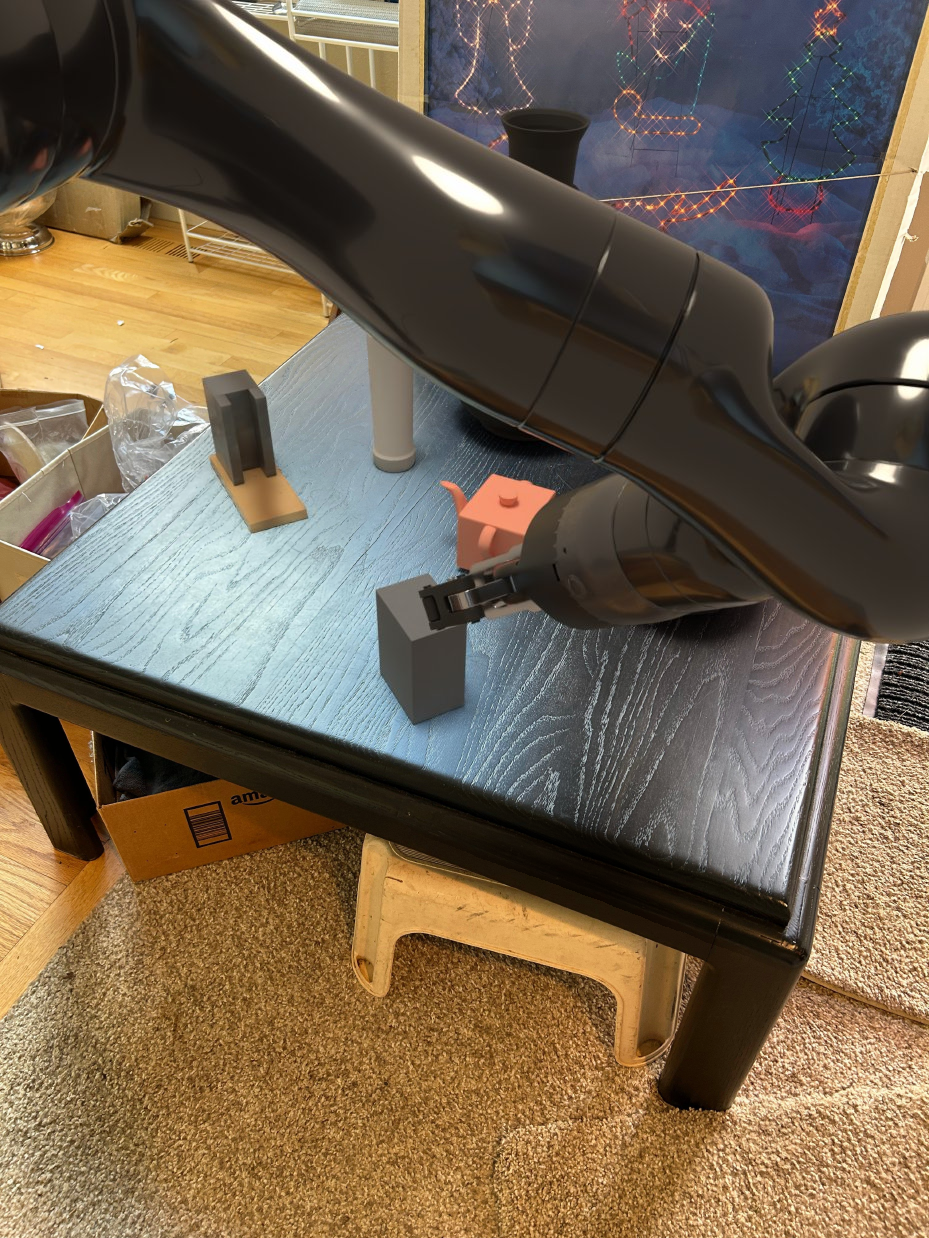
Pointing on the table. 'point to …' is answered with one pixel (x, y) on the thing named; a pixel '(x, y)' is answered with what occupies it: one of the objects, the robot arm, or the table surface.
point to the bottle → (391, 409)
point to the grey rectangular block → (419, 652)
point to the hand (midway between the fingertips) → (496, 584)
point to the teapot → (495, 517)
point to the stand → (248, 452)
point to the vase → (552, 151)
